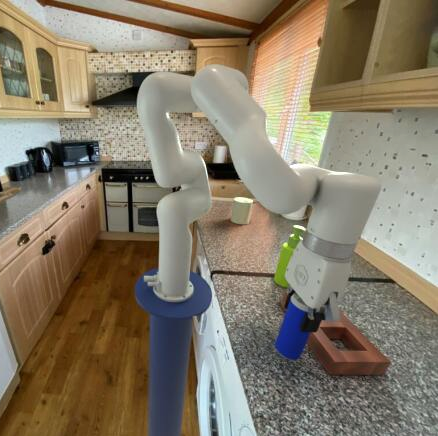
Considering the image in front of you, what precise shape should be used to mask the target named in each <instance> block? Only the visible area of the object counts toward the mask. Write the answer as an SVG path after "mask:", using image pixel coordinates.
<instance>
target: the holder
mask: <svg viewBox="0 0 438 436" xmlns="http://www.w3.org/2000/svg"><path fill="white" fill-rule="evenodd" d="M287 295H288V293H286V294H285V293H283V295H282V298H281V301H280V307H281V308H282V310H283V311H284V313H286V310H287V309H285V308H284V304H285V301H286V298H287ZM319 313H320V312H319ZM339 314H340V322H330V321H325V320H322V321H321V324H320V326H319V328H318V331H317V332H311V333H310V335H309V338H308V340H307V343H306V345H308V347H309V348H310V350H311V352H313V354H314V355H315V357H316V358H317V359H318V361H319V362H320V364H321V365H322V366H323V368H324V370H325V371H326V372H327V374H328V375H329V376H384V375H385V374H386V371H387V370H388V368H389V367H390V365H391V363H392V361H390V359H389V358H388V357H386V355H385V354H384V353H382V351H381V350H380V349H379V348H378V347H376V346H375V344H374V343H373V342H372V341H371V340H370V339H369V338H368V337H367V336H366V335H365V334H364V333H363V332H362V331H361V330H360V329H359V328H358V327H357V326H356V325H355V324H354V323H353V322H352V321H351V320H350V319H349V318H348V317H347V316H346V314H344V313H343V312H342V311H341V310H340V309H339ZM331 340H340V341H341V342H342V343H343V344H344V345H345V346H346V348H347V349H348V350H339V349H338V348H337V347H336V346H335V344H334V343H333V342H332V341H331Z"/></svg>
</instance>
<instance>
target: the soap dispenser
mask: <svg viewBox="0 0 438 436" xmlns="http://www.w3.org/2000/svg"><path fill="white" fill-rule="evenodd" d="M291 228H292V229H294V231H293V234H290V235H289V236H288V241H287V242H284V243H282V244H281V249H280V253H279V258H278V261H277V264H276V269H275V271H274V272H275V273H274V277H273V281H274V283H275V284H276V285H278V286H279V287H283V288H287V289H288V287H289V283H288V282H287V280H286V278H285V272H286V269H287V266H288V264H289V261H290V259H291V256H292V254H293V252H294V250H295V248H296V246H297V245H298V243H299V242H300V240H301V239H303V237H302V236H301V234H302V233H304V234H305V231H306V228H307V227H304V226H301V225H297V224H295V225H292V226H291Z"/></svg>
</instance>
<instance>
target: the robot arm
mask: <svg viewBox="0 0 438 436" xmlns="http://www.w3.org/2000/svg"><path fill="white" fill-rule="evenodd" d="M249 90H250V84H249V81H248V78H247V76H246V75H245V73H243V72H242V71H241V70H239V69H236V68H234V67H233V68H232V67H229V66H226V65H223V64H217V63H215V64H208V65H206V66H203V67H202V68H201V69H199V70H198V71H197V72H196V73H195V75H194V76H193V75H192V76H191V75H186V74H181V73H177V72H173V71H172V72H171V71H155V72H153V73H151V74H149V75H147V76H146V77H145V79H143V81H142V83H141V85H140V87H139V89H138V92H137V97H136V112H137V116H138V120H139V123H140V127H141V129H142V131H143V134H144V138H145V141H146V146H147V150H148V154H149V155H148V156H149V159H150V165H151V168H152V172H153V173H152V174H153V176H154V180H155V182H156V184H157V185H158V186H159V187H160V188H163V189H173V188H177V187H180V188H181V189H180V190H177V191H174V192H171V193H168V194H166V195H165V196H163V197H162V198H161V199H160V200H159V202H158V203H157V206H156V218H157V222H158V231H159V232H158V236H159V241H158V243H159V244H158V246H159V248H158V268H159V272H157V275H154V276H144V282H148V286H153V290H154V293H155V294H156V295H157V296H158V297H159V298H161V299H162V300H165V301H168V302H182V301H185V300H187V299H189V298H190V297H191V296H192V294H193V285H192V283H191V282H190V281H189V276H190V271H191V265H192V264H191V263H192V255H193V254H192V253H193V235H192V232H191V229H190V225H191V224H192V223H194V222H196V221H197V220H200V219H202V218H204V217H205V216H206V215H208V214H209V213H210V211H211V209H212V206H213V199H212V191H211V187H210V181H209V176H208V171H207V166H206V163H205V160H204V158H203V157H202V156H201V154H200V153H199V152H197V150H194V149H189V148H188V149H187V148H186V149H185V148H184V149H183V148H182V144H181V141H180V135H179V134H180V133H179V132H178V129H177V127H176V125H175V123H174V122H173V120H172V118H171V117H170V115H169V114H171V113H177V114H178V113H179V114H198V113H199V114H200V113H203V115H204V116H205V117H206V119H207V120H208V121H209V122H210V123H211V125H212V126H213V127H214V128H215V129H216V131H217V132H218V133H219V134H220V136H221V137H222V139H223V140H224V141H225V142H226V144H227V145H228V149H229V153H230V157H231V160H232V163H233V167H234V169H235V171H236V173H237V175H238V177H239V178H240V180H241V182H242V183H243V184H244V186H245V187H246V189H248V191H249V192H250V193H251V195H252V196H253V197H254V198H255V199H256V201H257V202H259V204H260V205H261V206H263V207H264V208H265V209H266V210H268V211H270V212H271V213H273V214H277V215H290V214H294V213H296V212H299V211H300V210H301V209H303V208H304V207H305V206H311V207H312V211H311V213H310V217H309V219H308V222H307V226H306V227H305V228H306V231H305V233H304V235H303V237H302V239H301V240H300V242H299V243H298V245H297V246H296V248H295V250H294V252H293V254H292V256H291V259H290V261H289V264H288V266H287V269H286V272H285V278H286V280H287V282H288V283H289V287H288V288H287V292H288V293H287V294H288V295H287V298H286V301H285V304H284V308H285V309H287V307H288V304H289V302H290V299H291V296H292V295H293V294H294V293H295V292H296V293H297V294H298V295H299V296H300V298H301V299H302V300H303V301H304V302H305V303H306V304H307V305H308V306H309V309H308V315H304V318H303V320H302V323H301V326H300V331H301V332H317V331H318V328H319V326H320V324H321V321H322V320H325V321H330V322H340V314H339V310H340V309H339V305H340V303H341V301H342V299H343V297H344V294H345V291H346V288H347V285H348V282H349V278H350V274H351V269H352V260H351V259H352V258H353V255H354V253H355V250H356V249H357V246H358V244H359V241H360V239H361V236H362V235H363V233H364V230H365V227H366V226H367V223H368V221H369V218H370V216H371V213H372V211H373V209H374V207H375V204H376V203H377V201H378V197H379V196H380V193H381V190H382V184H381V182H380V181H379V180H378V179H376V178H375V177H372V176H369V175H367V174H366V175H365V174H360V173H354V172H344V171H333V170H329V169H326V168H322V167H318V166H316V165H311V164H307V163H295V164H292V165H289V163H288V162H287V161H286V160H285V158H283V156H282V155H281V154H280V152H279V151H278V150H277V149H276V147H275V146H274V144H273V142H272V141H271V140H270V137H269V134H268V129H267V125H268V124H267V123H268V114H267V112H266V111H265V110H264V108H263V107H262V106H261V105H260V104H259V103H258V102H257V101H256V99H255V98H254V97H253V96H252V95H251V94H250V93H249V92H250V91H249ZM316 308H317V309H318V308H320V313H315V312H316Z"/></svg>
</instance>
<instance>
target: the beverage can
mask: <svg viewBox="0 0 438 436" xmlns="http://www.w3.org/2000/svg"><path fill="white" fill-rule="evenodd" d="M308 309H309V306H308V305H307V304H306V303H305V302H304V301H303V300H302V299H301V298H300V296H299V295H298V294H297V293H296V292H295V293H294V294H293V295H292V296H291V299H290V302H289V304H288V307H287V310H286V313H285V312H284V313H285V314H284V317H283V319H282V321H281V325H280V328H279V331H278V334H277V337H276V339H275V343H274V346H275V347H274V348H275V349H276V351H277V353H278V355H280V356H281V357H282V358H283V359H286V360H288V361H298V360H300V359H301V357H302V354H303V352H304V350H305V347H306V345H307V340H308V338H309V335H310V333H311V332H301V331H300V326H301V323H302V320H303V318H304V315H308ZM319 312H320V308H318V309H317V308H316V312H315V313H319Z"/></svg>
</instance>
